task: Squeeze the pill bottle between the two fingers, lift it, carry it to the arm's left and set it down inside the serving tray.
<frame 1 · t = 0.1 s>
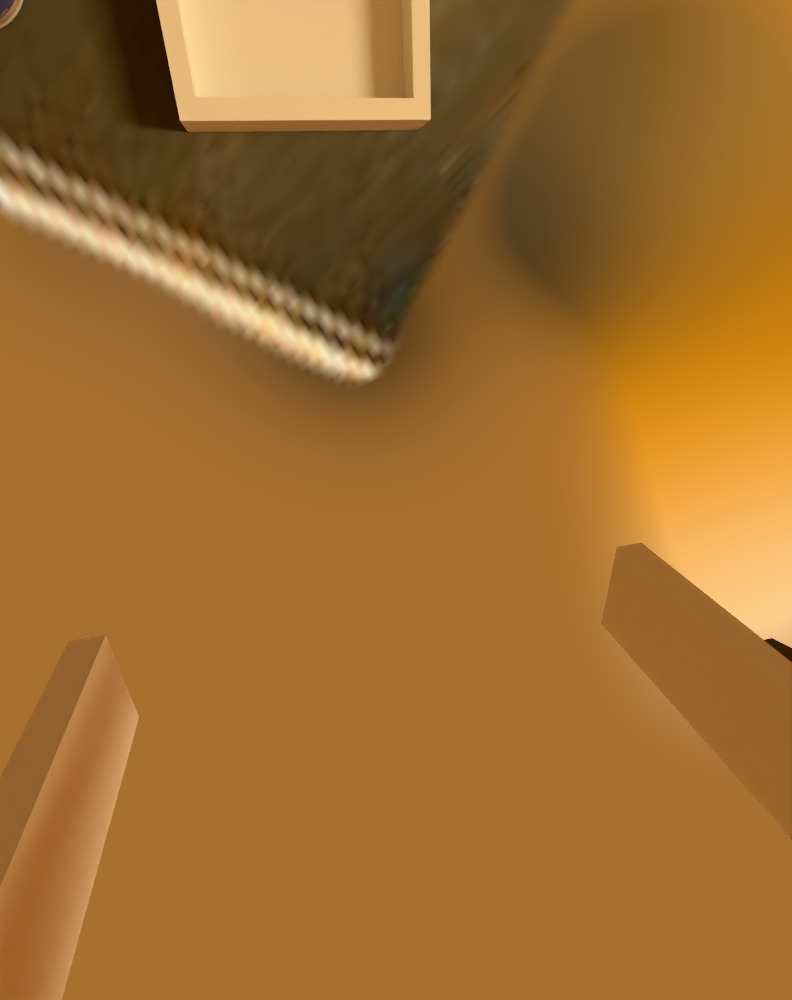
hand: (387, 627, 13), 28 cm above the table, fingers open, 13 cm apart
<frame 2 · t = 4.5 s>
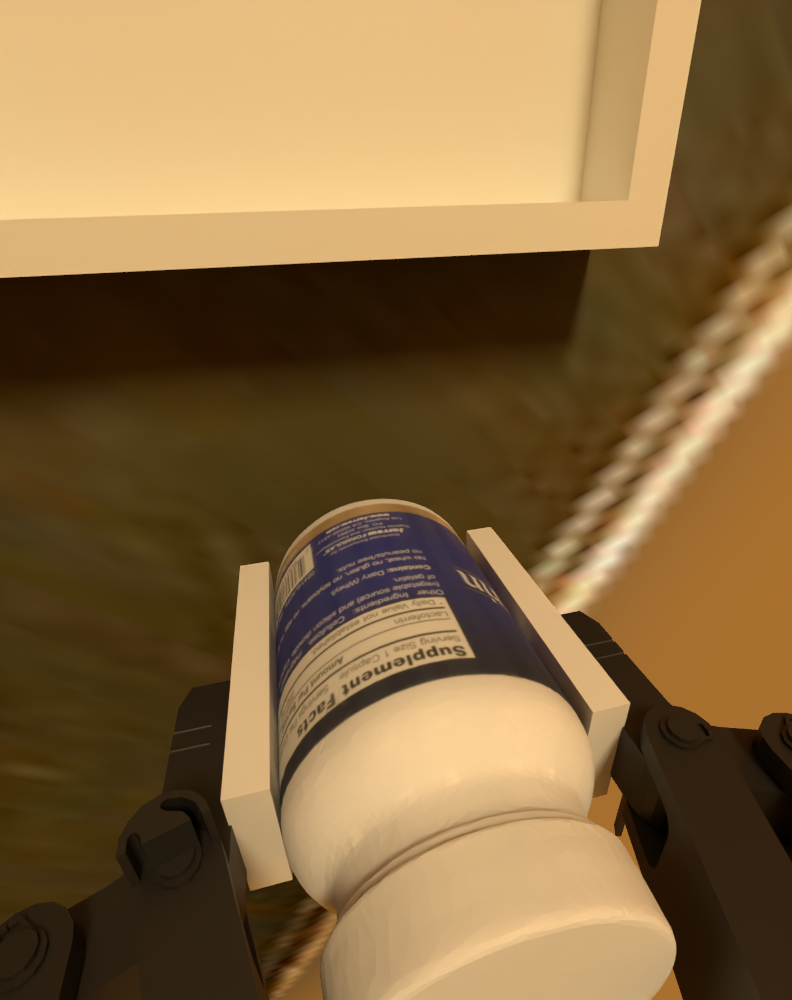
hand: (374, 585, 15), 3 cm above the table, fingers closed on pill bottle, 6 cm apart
pill bottle: (370, 572, 15), point 3 cm above the table, touching gripper
when the fingers open (3 cm above the table, at t = 8.5 s): pill bottle drops 2 cm, resting on serving tray.
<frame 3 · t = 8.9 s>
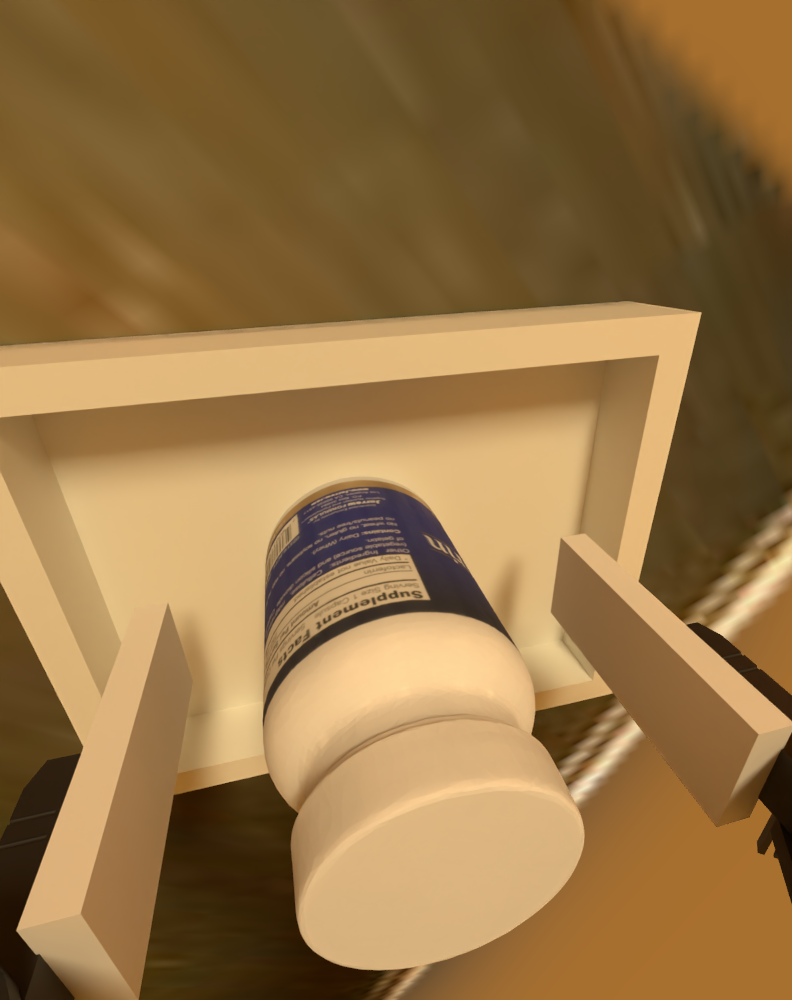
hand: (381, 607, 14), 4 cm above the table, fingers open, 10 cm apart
serving tray: (358, 535, 17), on the table
pill bottle: (354, 546, 16), point 1 cm above the table, touching serving tray
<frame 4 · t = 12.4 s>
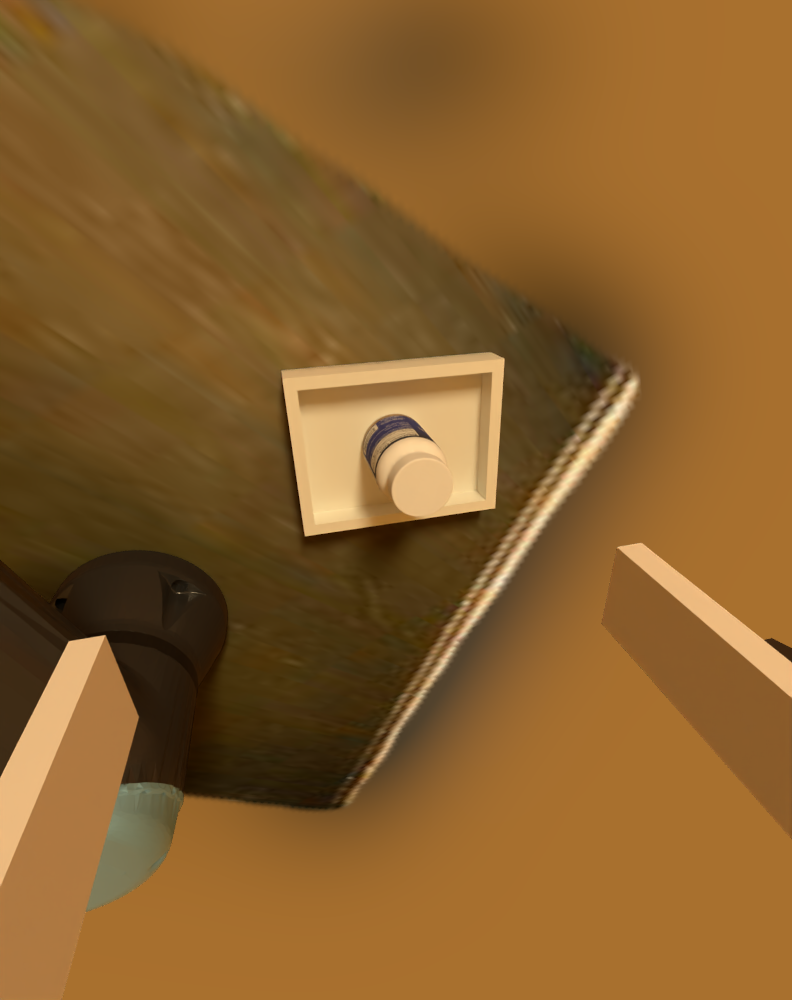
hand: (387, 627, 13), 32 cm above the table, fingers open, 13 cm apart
serving tray: (393, 439, 45), on the table
pill bottle: (391, 441, 44), point 1 cm above the table, touching serving tray
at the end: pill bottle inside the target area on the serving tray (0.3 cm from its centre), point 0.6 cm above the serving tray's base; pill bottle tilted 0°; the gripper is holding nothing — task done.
